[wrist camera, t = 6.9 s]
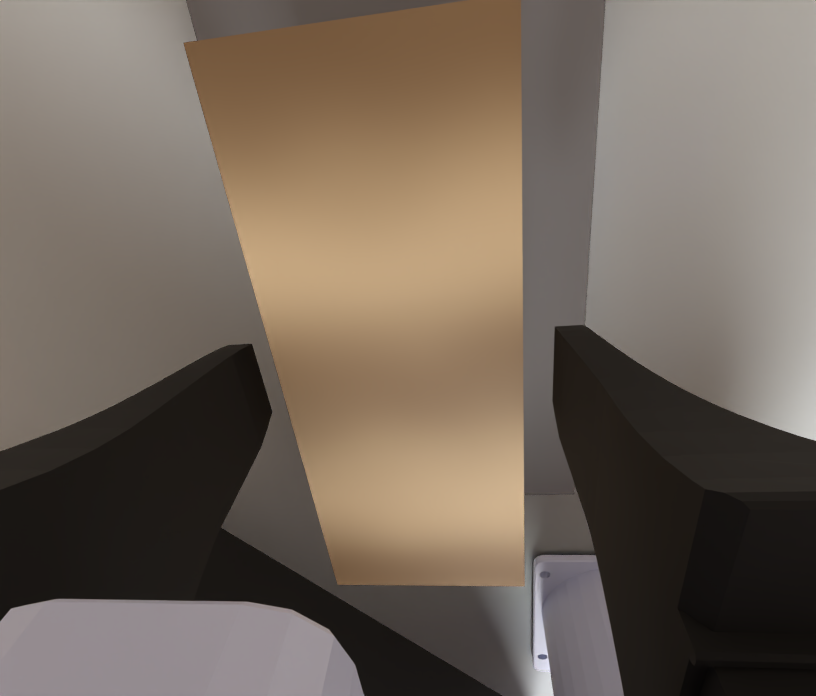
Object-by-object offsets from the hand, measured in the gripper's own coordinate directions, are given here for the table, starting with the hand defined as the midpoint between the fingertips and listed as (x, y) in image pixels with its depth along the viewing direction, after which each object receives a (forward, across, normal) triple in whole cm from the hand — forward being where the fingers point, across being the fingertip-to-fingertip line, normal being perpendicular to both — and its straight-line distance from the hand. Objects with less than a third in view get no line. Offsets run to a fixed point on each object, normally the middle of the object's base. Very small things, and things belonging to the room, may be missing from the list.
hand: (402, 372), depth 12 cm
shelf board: (+3, 0, 0) cm, 3 cm away
